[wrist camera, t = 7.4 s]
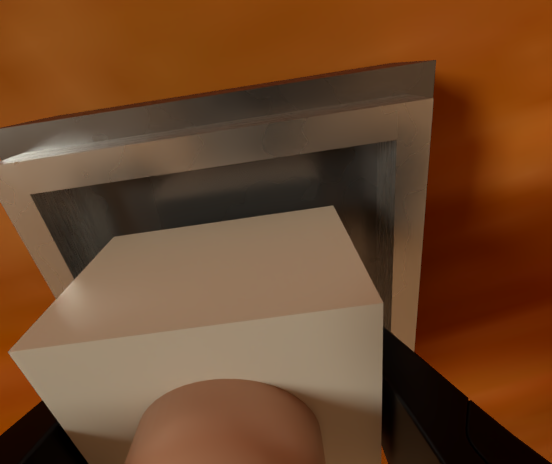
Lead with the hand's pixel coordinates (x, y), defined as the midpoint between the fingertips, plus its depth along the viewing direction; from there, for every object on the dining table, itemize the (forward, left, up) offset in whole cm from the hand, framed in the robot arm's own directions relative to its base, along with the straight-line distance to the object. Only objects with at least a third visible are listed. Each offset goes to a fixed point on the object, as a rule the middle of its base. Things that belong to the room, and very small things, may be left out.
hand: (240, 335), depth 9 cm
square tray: (0, 0, -6) cm, 6 cm away
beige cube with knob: (0, 0, -1) cm, 1 cm away
